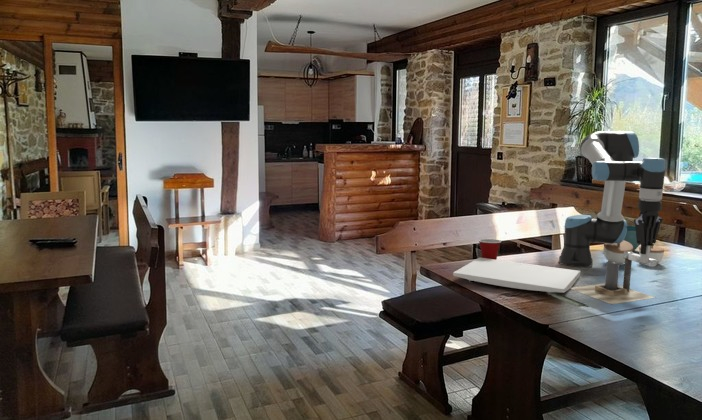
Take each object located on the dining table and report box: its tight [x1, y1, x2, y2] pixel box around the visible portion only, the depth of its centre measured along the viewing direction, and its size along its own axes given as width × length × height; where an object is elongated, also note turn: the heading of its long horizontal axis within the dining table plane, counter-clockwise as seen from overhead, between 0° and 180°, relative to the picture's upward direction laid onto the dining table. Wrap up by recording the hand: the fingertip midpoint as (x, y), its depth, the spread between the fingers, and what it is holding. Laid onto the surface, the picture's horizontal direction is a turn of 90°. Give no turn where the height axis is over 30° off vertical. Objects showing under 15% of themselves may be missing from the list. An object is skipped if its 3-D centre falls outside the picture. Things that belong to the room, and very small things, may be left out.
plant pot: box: [624, 224, 640, 252], centre depth 296 cm, size 18×18×12 cm
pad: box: [551, 292, 587, 307], centre depth 214 cm, size 14×9×1 cm, turn 22°
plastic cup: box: [478, 238, 502, 260], centre depth 267 cm, size 11×11×12 cm
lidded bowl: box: [603, 240, 633, 266], centre depth 268 cm, size 13×13×11 cm
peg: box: [604, 261, 620, 290], centre depth 217 cm, size 4×4×12 cm
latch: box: [624, 251, 657, 267], centre depth 214 cm, size 4×14×2 cm, turn 15°
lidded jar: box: [638, 245, 665, 266], centre depth 268 cm, size 11×11×9 cm
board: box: [452, 257, 581, 296], centre depth 238 cm, size 45×32×5 cm
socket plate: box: [569, 259, 656, 305], centre depth 217 cm, size 22×22×14 cm
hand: (644, 262), depth 208 cm, fingers closed
